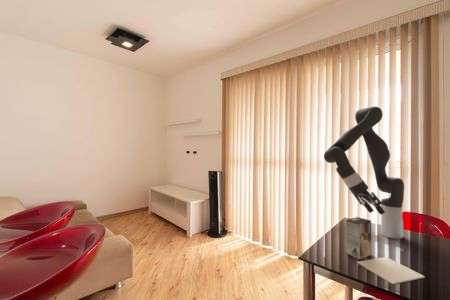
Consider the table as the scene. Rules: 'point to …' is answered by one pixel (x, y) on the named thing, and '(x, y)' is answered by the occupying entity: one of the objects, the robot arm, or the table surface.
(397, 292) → the table surface
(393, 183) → the robot arm
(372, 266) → the mat
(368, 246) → the coffee box
